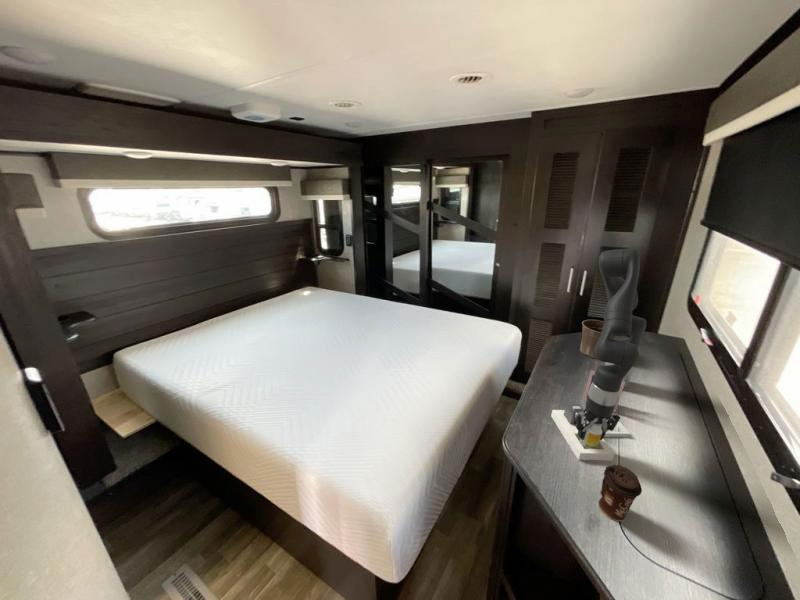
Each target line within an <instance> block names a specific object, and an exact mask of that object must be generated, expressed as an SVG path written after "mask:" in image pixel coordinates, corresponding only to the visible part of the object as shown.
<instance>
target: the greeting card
mask: <svg viewBox="0 0 800 600" xmlns="http://www.w3.org/2000/svg"><path fill="white" fill-rule="evenodd" d="M595 372H596V369H590V371H589V375H588V379H587V383H586V387H585V389H584V390H585V391H584V393H583V397H582V401H583V402H585V403H586V400H587V397H588V393H589V389H590V386H591V384H592V382H593V379H594V375H595ZM624 384H625V382H624V381H622V383H621V386H620V389H619V394H618V399H617V402H616V405H615V408H614V411H613V412H616V411H617V408H618V406H619V403H620V399H621V396H622V393H623V391H624V388H623V387H624ZM616 413H617V412H616Z"/></svg>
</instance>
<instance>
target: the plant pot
mask: <svg viewBox="0 0 800 600" xmlns="http://www.w3.org/2000/svg"><path fill="white" fill-rule="evenodd" d="M581 324H582V328H581V330H582V332H581V334H582V335H581V339H580V340H581V341H580V347H579V351H580V353H581V354H582V355H585V356H588V357H589V358H591V359H595V360H598V359H597V358H596V356H595V353H594V349H595V346H596V344H597V342H598V340H599V338H600V336H601V333H602V330H603V325H604V320H599V319H586V320H583V321H582V322H581ZM616 337H617V336H613V337H611V339H612V340H615V338H616Z"/></svg>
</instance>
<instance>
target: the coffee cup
mask: <svg viewBox="0 0 800 600" xmlns="http://www.w3.org/2000/svg"><path fill="white" fill-rule="evenodd" d="M603 476H604V477H603V479H602V482H601V489H600V491H599V493H600V495H601V498H600V499H599V500H598V508H599V509H600V512H601V513H602V514H603V515H604V516H605V517H606V518H608V519H609V520H613V521H616V522H623V521H625V519H626V516H627V512H628V511H629V510H630V509H631V507H632V505H633V502H634V501H635V499H636V498H637V497H639V496H640V495H641V494H642V492H643V489H642V484H641V483H640V480H639V478H638V475H636V474H635V472H633V470H631V469H629V468H628V467H626V466H623V465H621V464H610V465H607V466H606V467H605V469H604V472H603Z"/></svg>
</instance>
